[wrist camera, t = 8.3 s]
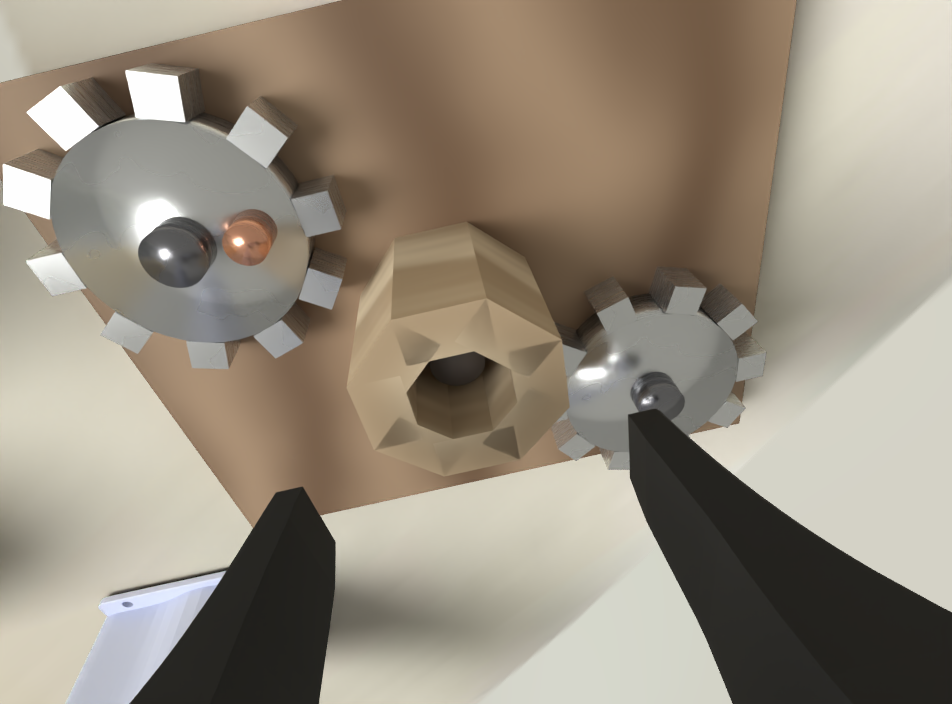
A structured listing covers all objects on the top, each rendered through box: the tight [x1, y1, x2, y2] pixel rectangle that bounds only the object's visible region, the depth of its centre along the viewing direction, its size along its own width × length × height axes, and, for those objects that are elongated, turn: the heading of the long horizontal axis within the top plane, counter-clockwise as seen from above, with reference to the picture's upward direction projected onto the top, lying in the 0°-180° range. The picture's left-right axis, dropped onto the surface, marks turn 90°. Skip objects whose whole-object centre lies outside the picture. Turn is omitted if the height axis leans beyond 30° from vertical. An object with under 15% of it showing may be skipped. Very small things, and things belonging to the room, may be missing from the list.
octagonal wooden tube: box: [347, 222, 570, 476], centre depth 16 cm, size 6×6×5 cm
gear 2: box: [551, 266, 766, 470], centre depth 19 cm, size 8×8×2 cm
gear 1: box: [3, 63, 347, 369], centre depth 14 cm, size 8×8×3 cm
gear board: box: [0, 0, 797, 528], centre depth 17 cm, size 22×18×5 cm
